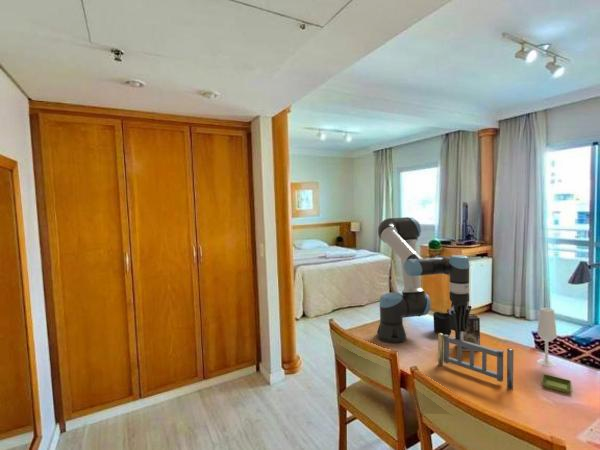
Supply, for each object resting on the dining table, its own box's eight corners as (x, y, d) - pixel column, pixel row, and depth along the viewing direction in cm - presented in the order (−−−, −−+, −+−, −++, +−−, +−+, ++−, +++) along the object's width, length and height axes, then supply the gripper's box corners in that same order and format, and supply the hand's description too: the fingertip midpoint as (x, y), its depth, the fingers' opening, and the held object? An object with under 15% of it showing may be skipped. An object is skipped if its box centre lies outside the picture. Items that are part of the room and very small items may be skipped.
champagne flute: (536, 358, 147) (537, 306, 145) (555, 361, 143) (556, 308, 142) (537, 364, 141) (537, 310, 140) (556, 368, 138) (557, 312, 136)
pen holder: (442, 327, 186) (441, 310, 185) (455, 333, 177) (455, 315, 176) (429, 330, 182) (429, 313, 181) (443, 336, 173) (443, 318, 173)
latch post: (437, 364, 143) (437, 333, 143) (439, 363, 145) (439, 332, 144) (442, 366, 142) (441, 335, 141) (443, 364, 143) (443, 333, 143)
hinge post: (506, 387, 125) (506, 349, 124) (507, 385, 126) (508, 347, 125) (512, 389, 123) (512, 351, 122) (513, 387, 125) (514, 349, 124)
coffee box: (474, 345, 162) (474, 313, 161) (480, 351, 155) (480, 318, 154) (455, 345, 162) (455, 313, 162) (460, 351, 156) (460, 318, 155)
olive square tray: (543, 378, 131) (543, 373, 131) (571, 385, 125) (571, 380, 125) (541, 388, 124) (541, 383, 124) (571, 396, 119) (571, 390, 118)
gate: (503, 380, 127) (503, 350, 126) (501, 382, 126) (501, 352, 125) (445, 360, 144) (445, 334, 143) (443, 362, 143) (443, 335, 142)
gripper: (457, 296, 132) (457, 352, 134) (477, 291, 138) (477, 345, 140) (441, 292, 139) (441, 345, 140) (461, 287, 145) (461, 339, 146)
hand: (459, 345), depth 140 cm, fingers closed
